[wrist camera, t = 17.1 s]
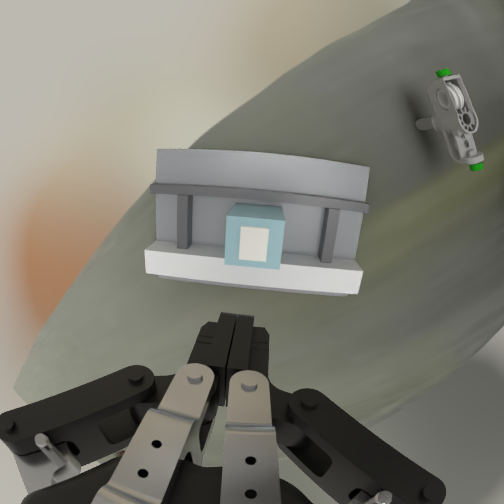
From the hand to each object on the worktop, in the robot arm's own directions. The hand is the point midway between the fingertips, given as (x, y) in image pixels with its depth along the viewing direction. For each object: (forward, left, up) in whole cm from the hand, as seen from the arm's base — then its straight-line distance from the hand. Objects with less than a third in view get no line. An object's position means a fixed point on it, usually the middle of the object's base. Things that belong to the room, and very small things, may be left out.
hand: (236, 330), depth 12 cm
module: (0, 0, -20) cm, 20 cm away
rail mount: (0, 0, -21) cm, 21 cm away
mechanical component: (-19, -15, -21) cm, 32 cm away
